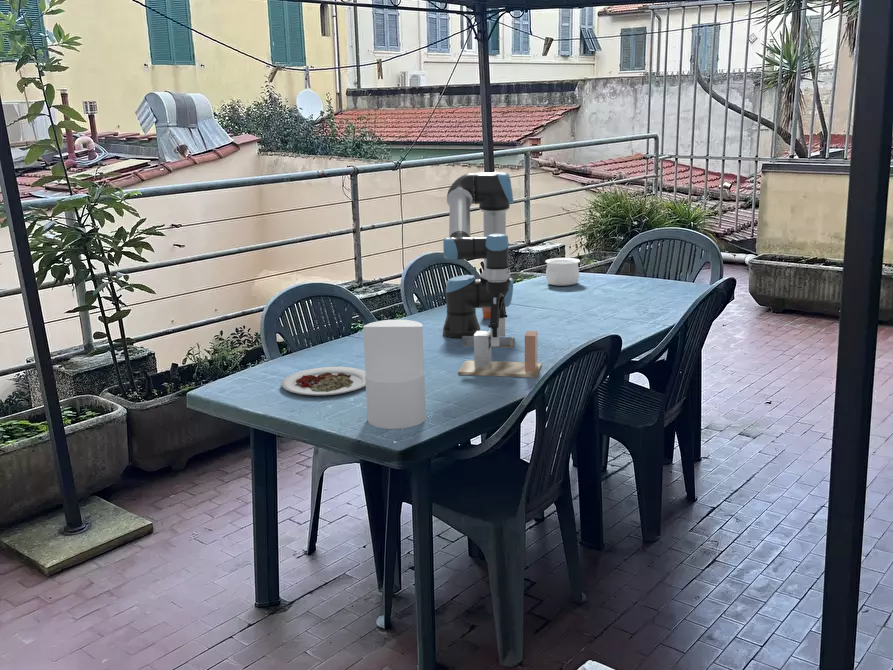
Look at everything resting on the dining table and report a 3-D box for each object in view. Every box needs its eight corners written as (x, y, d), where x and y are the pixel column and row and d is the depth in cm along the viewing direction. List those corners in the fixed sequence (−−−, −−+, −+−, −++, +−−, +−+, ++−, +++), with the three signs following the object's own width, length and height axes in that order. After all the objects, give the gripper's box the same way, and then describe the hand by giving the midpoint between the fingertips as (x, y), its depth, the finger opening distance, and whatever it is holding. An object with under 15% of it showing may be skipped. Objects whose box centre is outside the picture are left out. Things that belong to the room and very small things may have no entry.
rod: (461, 347, 300) (461, 337, 299) (463, 344, 303) (463, 334, 303) (513, 349, 296) (513, 338, 295) (515, 346, 300) (514, 336, 299)
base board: (458, 374, 297) (458, 371, 297) (465, 362, 311) (465, 360, 310) (536, 377, 292) (536, 374, 291) (541, 365, 305) (541, 362, 305)
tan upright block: (524, 371, 296) (524, 335, 293) (527, 365, 302) (527, 330, 299) (535, 371, 295) (535, 336, 292) (537, 365, 301) (537, 331, 298)
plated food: (380, 393, 281) (380, 383, 280) (287, 404, 273) (286, 394, 272) (362, 368, 309) (362, 359, 308) (277, 377, 301) (276, 368, 300)
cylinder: (373, 408, 266) (368, 319, 259) (429, 408, 264) (425, 319, 257) (362, 428, 249) (357, 334, 242) (422, 429, 248) (418, 334, 241)
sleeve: (474, 368, 300) (473, 335, 297) (477, 363, 305) (476, 330, 302) (488, 369, 299) (488, 335, 296) (491, 364, 304) (491, 331, 301)
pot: (565, 290, 428) (565, 265, 425) (536, 286, 439) (536, 262, 436) (588, 282, 445) (588, 259, 442) (559, 279, 455) (559, 256, 452)
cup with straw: (490, 320, 371) (489, 279, 366) (475, 317, 378) (474, 276, 373) (505, 317, 377) (504, 276, 372) (490, 313, 383) (489, 273, 379)
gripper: (503, 287, 281) (503, 350, 286) (513, 273, 304) (514, 332, 309) (480, 287, 282) (481, 350, 287) (492, 273, 306) (493, 332, 311)
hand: (498, 341), depth 298 cm, fingers open, 13 cm apart
